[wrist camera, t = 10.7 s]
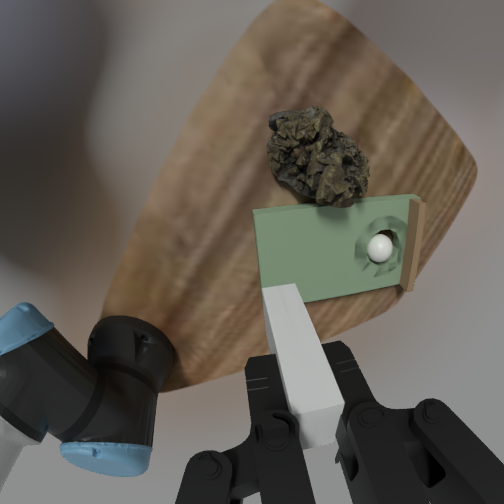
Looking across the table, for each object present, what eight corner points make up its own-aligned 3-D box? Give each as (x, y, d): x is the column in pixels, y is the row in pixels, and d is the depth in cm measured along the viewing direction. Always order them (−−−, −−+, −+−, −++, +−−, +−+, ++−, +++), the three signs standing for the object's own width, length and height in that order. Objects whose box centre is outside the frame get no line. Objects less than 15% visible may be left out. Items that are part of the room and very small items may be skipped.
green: (262, 300, 43) (266, 319, 39) (252, 209, 37) (256, 221, 33) (403, 275, 44) (417, 289, 40) (412, 193, 38) (430, 202, 34)
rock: (338, 219, 39) (394, 177, 32) (304, 237, 31) (376, 183, 25) (284, 146, 40) (332, 100, 34) (240, 146, 33) (295, 85, 26)
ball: (359, 258, 41) (377, 270, 37) (361, 233, 39) (379, 243, 36) (378, 251, 42) (396, 262, 38) (381, 227, 40) (399, 237, 37)
